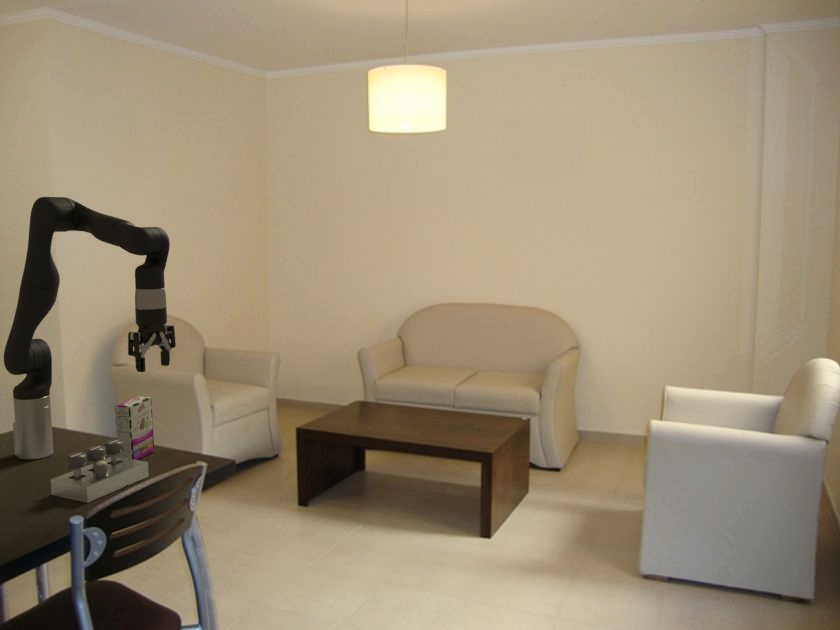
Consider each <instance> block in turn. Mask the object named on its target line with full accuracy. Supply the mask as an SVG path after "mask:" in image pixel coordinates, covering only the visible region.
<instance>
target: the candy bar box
mask: <svg viewBox="0 0 840 630" xmlns="http://www.w3.org/2000/svg"><path fill="white" fill-rule="evenodd" d="M114 410H115V411H114V412H115V425H116V439H119V440H123V441H124V451H123V452H122V453H118V457H123V458H129V459H134V460H140V461H141V459H143V458H145V457H147V456H148V455H149V454H150V455H151V454H152V453H153V452H154V451H155V440H154V439H155V438H154V422H153V406H152V396H143V395H142V396H141V395H136V396H135V397H132V398H130V399H128V400H125V401H123V402H121V403H119V404H116V405H115V406H114Z"/></svg>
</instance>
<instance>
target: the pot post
mask: <svg viewBox="0 0 840 630" xmlns="http://www.w3.org/2000/svg"><path fill="white" fill-rule="evenodd" d="M95 477H96V478H105V477H108V463H107V462H106V461H101V460H100V461H99V462H96V464H95Z"/></svg>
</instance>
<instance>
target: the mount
mask: <svg viewBox="0 0 840 630" xmlns="http://www.w3.org/2000/svg"><path fill="white" fill-rule="evenodd" d="M100 461H106V462H107V463H108V477H105V478H96V477H95V472H93V464H92V463H91V464H87V465H86V466H84V467H81V479H78V480H75V479H73V470H72V471H69V472H67V473H64V474H62V475H58V476H56V477H53V478H51V479H50V490H51V493H50V494H51V496H55V497H59V498H64V499H69V500H72V501H77V502H81V503H82V502H83V503H85V504H88V503H91V502H93V501H95V500H98V499H100V498H102V497H105V496H106V495H109V494H111V493H114V492H115V491H119V490H121V489H123V488H125V486H126V487H127V485H128V486H131V485H133V484H134V483H135V484H136V482H137V483H138V482H139V481H142V480H144V479H147V478H148V477H149V476H150V475H149V461H145V460H141V459H140V460H134V459H129V458H123V457H118V462H119V464H117V465H111V456H110V457H106V458H105V459H103V460H100Z"/></svg>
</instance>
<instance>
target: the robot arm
mask: <svg viewBox="0 0 840 630" xmlns="http://www.w3.org/2000/svg"><path fill="white" fill-rule="evenodd" d="M70 231H71V232H73V231H74V232H84V233H88V234H91V235H92V236H93V237H94V238H96V239H97V240H98V241H100V242H102V243H106V244H109V245H112V246H116V247H119V248H121V249H123V250H124V251H126V252H128V253H130V254H132V255H135V256H146V257H145V260H144V263H142V264H139V265H138V266H137V267H135V270H134V281H135V282H134V284H135V285H134V286H135V291H134V292H135V293H134V310H135V311H134V312H135V325H137V328H138V330H137V331H128V332H127V355H128V356H131V357H134V361H135V370H136V371H137V373H145V372H146V357H145V356H146V353H147V351H149V350H150V348H151V347H154V346H155V345H156V346H157V347H158V348H159V349H160V365H161V366H162V367H163V366H165V367H169V365H170V364H171V357H170V356H171V355H170V352H171V351H172V349H175V348H176V346H177V345H176V334H175V332H176V331H175V326H174V325H170V324H168V325H167V323H168V312H167V311H168V309H167V294H166V289H165V269H166V266H167V262H168V257H169V253H170V245H171V244H170V243H171V242H170V238H169V235H168V233H167V232H166V230H164V228H162V227H160V226H144V227H143V226H142V227H141V226H136V225H135V224H134V223H133V222H131V221H130V220H126V219H123V218H120V217H116V216H112V215H109V214H108V215H107V214H106V213H105V214H104V213H102V212H98V211H96V210H94V209H92V208H90V207H88V206H85V205H83V204H82V203H80V202H78V201H76V200H73V199H72V198H69V197H64V196H41V197H38V198H37V199H35V201H34V202H33V204H32V207H31V211H30V217H29V229H28V240H27V250H26V257H25V263H24V267H23V272H22V276H21V280H20V286H19V293H18V299H17V304H16V309H15V312H14V318H13V322H12V324H11V327H10V328H11V329H10V331H9V335H8V337H7V341H6V344H5V347H4V350H3V351H4V352H3V363H4V368H5V370H7V372H8V373H9V374H11V375H13V376H21V375H25V378H23V380H21V382H19V383H18V384H17V385H15V386H14V387H13V389H12V396H13V411H14V414H13V415H14V422H13V423H12V428H13V429H12V430H13V431H12V432H13V447H14V456H17V458H18V459H20V460H38V459H42V458H46V457H49V456H51V455H53V454H54V442H53V441H54V440H53V439H54V438H53V424H52V405H51V404H52V403H51V390H50V389H51V387H52V383H53V374H52V373H53V359H52V351H51V347H50V346H49V344H48V342H46V340H44V339H42V338H34V335H35V332H36V330H37V329H38V327H39V326H40V324H41V323H42V321H43V320H44V319H45V318H46V316H47V315H48V314H49V313H50V311H51V310H52V308H53V306H54V305H55V303H56V301H57V297H58V293H59V287H60V282H61V281H60V280H61V279H60V274H59V270H58V268H57V266H56V263H55V261H54V258H53V255H52V243H53V236H54V233H60V232H61V233H62V232H70Z"/></svg>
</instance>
